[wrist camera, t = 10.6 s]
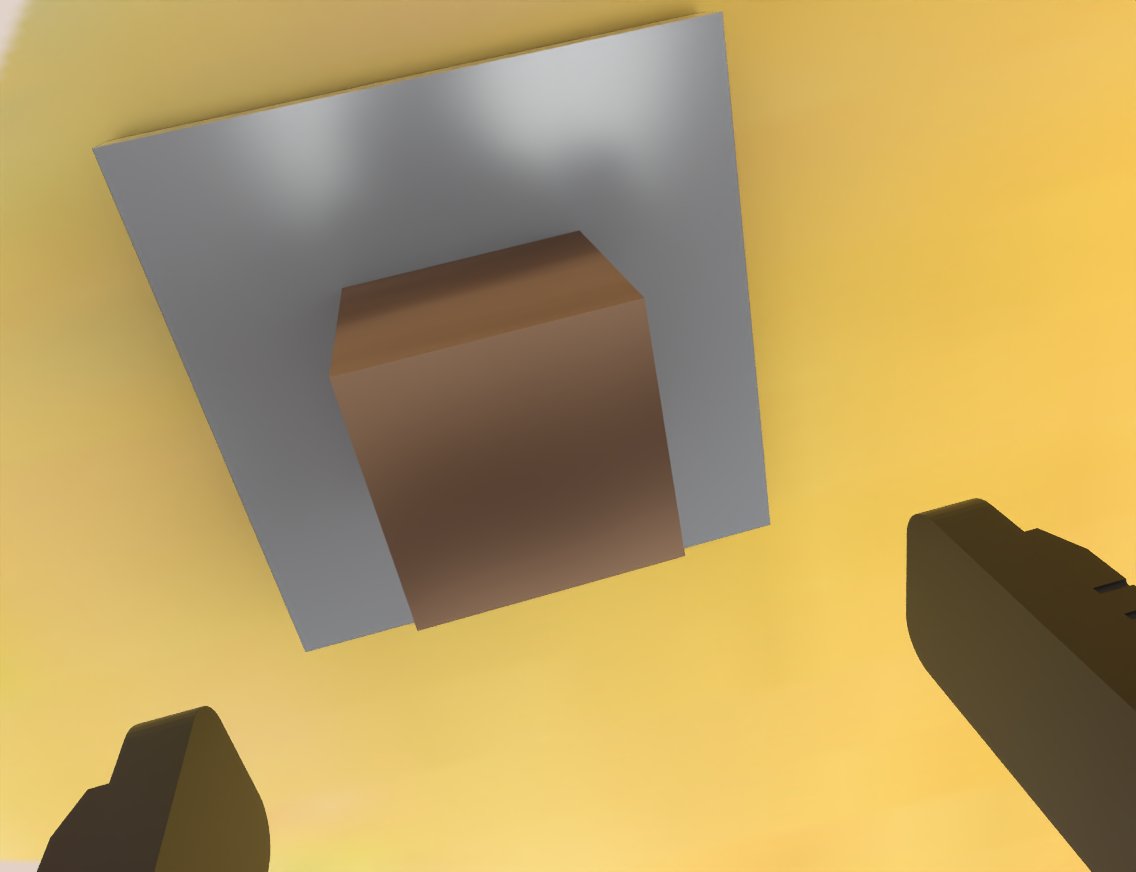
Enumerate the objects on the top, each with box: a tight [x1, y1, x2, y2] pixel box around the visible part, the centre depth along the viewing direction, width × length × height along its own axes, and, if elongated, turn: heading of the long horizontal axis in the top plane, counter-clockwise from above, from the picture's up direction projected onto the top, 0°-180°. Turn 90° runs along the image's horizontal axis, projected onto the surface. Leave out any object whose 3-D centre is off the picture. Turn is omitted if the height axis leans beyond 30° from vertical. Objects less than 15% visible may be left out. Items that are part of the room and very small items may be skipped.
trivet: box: [92, 12, 770, 652], centre depth 19 cm, size 12×12×1 cm
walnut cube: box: [329, 230, 685, 631], centre depth 17 cm, size 5×5×5 cm
